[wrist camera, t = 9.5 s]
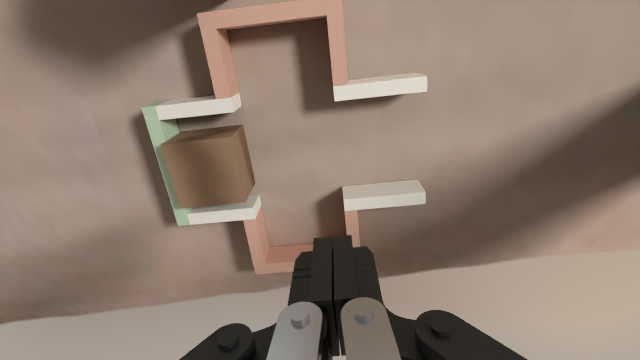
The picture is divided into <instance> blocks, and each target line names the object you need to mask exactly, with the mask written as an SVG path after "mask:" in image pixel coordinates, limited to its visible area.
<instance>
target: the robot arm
mask: <svg viewBox="0 0 640 360" xmlns="http://www.w3.org/2000/svg"><path fill="white" fill-rule="evenodd" d="M339 340H340V347H341V354H342V356H343V355H346V359H347V360H527V359H525V358H524V357H522V356H521V355H519V354H517V353H516V352H514V351H512V350H511V349H509V348H507V347H506V346H504V345H503V344H501V343H499V342H498V341H496V340H494V339H493V338H491V337H490V336H488V335H486V334H485V333H483V332H481V331H480V330H478V329H477V328H475V327H473V326H472V325H470V324H468V323H467V322H465V321H464V320H462V319H460V318H459V317H457V316H455V315H454V314H452V313H449V312H446V311H442V310H430V311H427V312H424V313H422V314H421V315H420V316H419V317H418V318H417V320H411V319H406V318H402V317H399V316H396V315H394V314H393V313H391V312H390V311H389V310H388V309H387V308H386V307H385V305H384V304H383V301H382V296H381V291H380V286H379V281H378V276H377V271H376V265H375V260H374V255H373V253H372V252H371V251H370V250H369V249H368V248H367V247H366V246H363V247H353V245H352V235H343V236H334V237H333V238H332V237H321V238H314V242H313V251H306V252H301V253H300V255H299V256H298V257H297V259H296V260H295V264H294V271H293V276H292V282H291V288H290V294H289V301H288V307H286V308H285V309H284V310H283V311H282V312H281V313H280V315H279V317H278V320H277V323H275V324H274V325H272V326H270V327H267V328H265V329H262V330H259V331H256V332H253V333H252V332H251V330H250V328H249V327H247V326H246V325H244V324H239V323H236V324H235V323H234V324H229V325H226V326H223V327H221V328H219V329H218V330H216V331H215V332H214V333H213V334H211V335H210V336H209V337H207V338H206V339H205V340H204V341H202V342H201V343H200V344H199V345H197V346H196V347H195V348H193V349H192V350H191V351H190V352H188V353H187V354H186V355H185V356H183V357H182V358H181V359H180V360H332V356H339V355H340V351H339Z"/></svg>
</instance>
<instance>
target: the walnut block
mask: <svg viewBox="0 0 640 360" xmlns="http://www.w3.org/2000/svg"><path fill="white" fill-rule="evenodd" d="M160 146H161V149H162V152H163V155H164V159H165V162H166V165H167V168H168V171H169V174H170V178H171V181H172V184H173V187H174V190H175V194H176V197H177V200H178V203H179V206H180V209H182V208H192V207H203V206H213V205H223V204H233V203H243V202H246V200H247V198H248V196H249V194H250V192H251V190H252V188H253V186H254V184H255V179H254V175H253V170H252V165H251V160H250V156H249V151H248V146H247V141H246V136H245V132H244V127H243V125H235V126H226V127H218V128H209V129H200V130H192V131H183V132H180V133H178V134H177V135H175V136H174V137H172V138H170V139H169V140H167V141H166V142H164V143H162V144H161V145H160Z"/></svg>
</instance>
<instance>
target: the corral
mask: <svg viewBox="0 0 640 360" xmlns="http://www.w3.org/2000/svg"><path fill="white" fill-rule="evenodd" d="M197 17H198V22H199V26H200V30H201V35H202V39H203V44H204V48H205V53H206V57H207V62H208V66H209V71H210V75H211V79H212V84H213V88H214V93H215V95H213V96H204V97H195V98H186V99H177V100H168V101H159V102H155V103H153V104H150V105H147V106H144V107H141V109H142V112H143V115H144V118H145V121H146V125H147V128H148V131H149V134H150V137H151V141H152V144H153V147H154V150H155V154H156V157H157V160H158V163H159V166H160V170H161V173H162V176H163V179H164V182H165V186H166V189H167V192H168V195H169V198H170V202H171V205H172V208H173V211H174V215H175V218H176V221H177V224H178V226H182V225H194V224H205V223H216V222H227V221H239V220H243V222H244V226H245V231H246V235H247V240H248V244H249V249H250V253H251V258H252V262H253V266H254V271H255V275H256V274H269V273H281V272H293V271H294V264H295V260H296V259H297V257H298V256H299V255H300V253H301V252H306V251H313V244H301V245H289V246H277V247H269V242H268V237H267V232H266V227H265V222H264V217H263V212H262V207H261V202H260V196H259V194H257V195H249V196H248V198H247V200H246V202H243V203H233V204H223V205H213V206H203V207H192V208H182V209H180V206H179V203H178V200H177V197H176V194H175V190H174V187H173V184H172V181H171V178H170V174H169V171H168V168H167V165H166V162H165V159H164V155H163V152H162V149H161V146H160V145H161V144H162V143H164V142H166V141H167V140H169V139H170V138H172V137H174V136H175V135H177V134H178V133H179V129H178V125H177V122H176V118H185V117H194V116H204V115H213V114H222V113H231V112H234V111H236V110H237V109H238V108H240V107H241V106H242V105H241V100H240V95H239V90H238V85H237V80H236V75H235V70H234V65H233V60H232V54H231V49H230V44H229V39H228V34H227V30H231V29H239V28H247V27H255V26H263V25H272V24H280V23H288V22H296V21H304V20H313V19H321V18H327V27H328V38H329V49H330V60H331V70H332V81H333V92H334V101H343V100H352V99H361V98H371V97H380V96H389V95H399V94H408V93H417V92H426V91H427V76H426V75H423V74H420V73H411V74H402V75H393V76H384V77H375V78H366V79H357V80H348V77H347V64H346V51H345V37H344V24H343V11H342V0H298V1H290V2H283V3H275V4H267V5H259V6H251V7H243V8H235V9H227V10H219V11H211V12H203V13H197ZM342 190H343V201H344V212H345V223H346V234H347V235H352V245H353V247H360V238H359V224H358V211H357V210H363V209H374V208H386V207H397V206H408V205H419V204H426V192H425V190H424V189H423V187H422V186H421V184H420V183H419V181H418V180H408V181H397V182H386V183H375V184H365V185H354V186H343V187H342Z"/></svg>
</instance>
